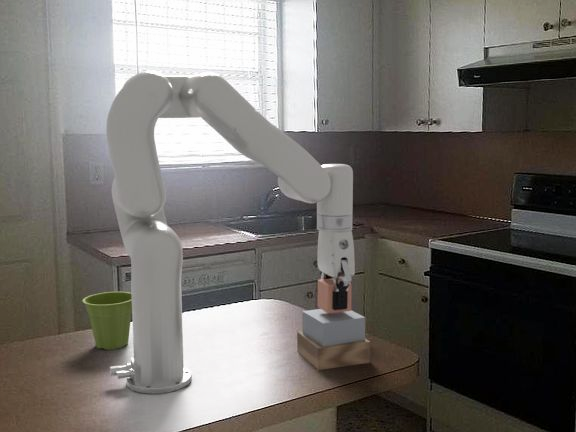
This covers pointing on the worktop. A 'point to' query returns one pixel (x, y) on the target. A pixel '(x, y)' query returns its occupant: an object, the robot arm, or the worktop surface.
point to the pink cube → (330, 296)
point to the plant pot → (110, 318)
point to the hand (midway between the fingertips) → (334, 304)
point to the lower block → (333, 352)
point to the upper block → (333, 327)
